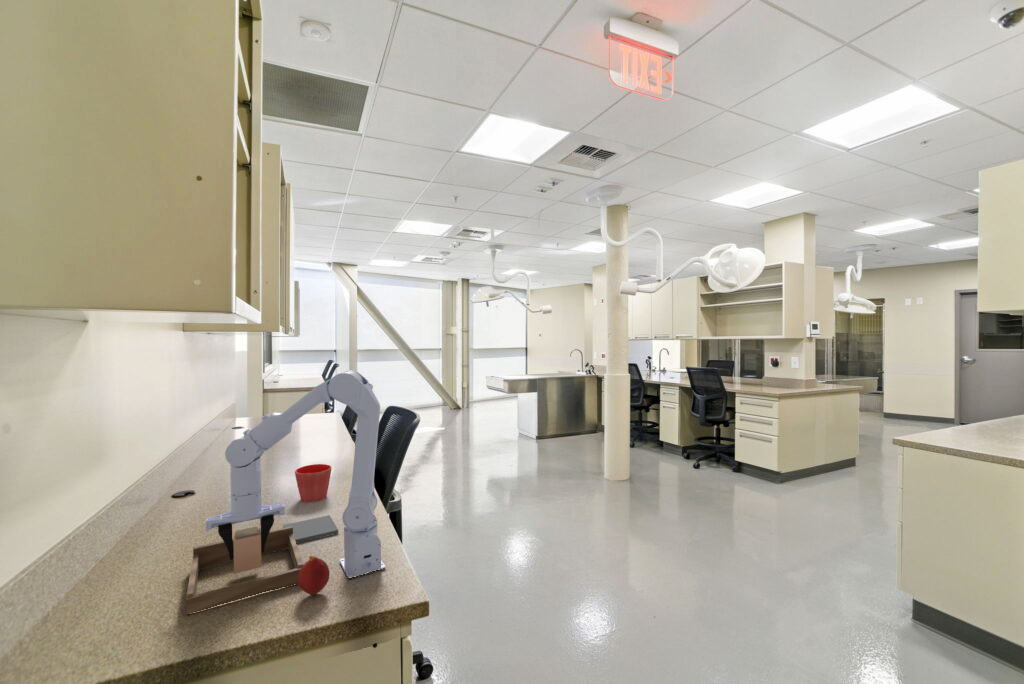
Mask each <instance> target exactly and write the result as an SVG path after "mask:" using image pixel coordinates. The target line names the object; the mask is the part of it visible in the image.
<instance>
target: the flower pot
mask: <svg viewBox="0 0 1024 684" xmlns="http://www.w3.org/2000/svg"><path fill="white" fill-rule="evenodd" d="M331 474H332V465H330V464H326V463H317V464H316V463H315V464H314V463H313V464H308V465H307V464H306V465H304V466H300V467H299V468H296V469H295V471H294V475H295V480H296V485H297V489H298V490H297V491H298V494H299V497H300V500H301V502H304V501H305V503H313V502H312V501H314V502H317V501H321V499H322V500H324V499H326V498H327V496H328V491H329V485H330V480H331ZM323 498H324V499H323Z"/></svg>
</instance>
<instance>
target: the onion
mask: <svg viewBox="0 0 1024 684" xmlns="http://www.w3.org/2000/svg"><path fill="white" fill-rule="evenodd" d="M308 558H309V560H307V561H306V562H304V563H303V566H302V568H301V570H300V571H299V574H298V584H297V586H298V587H299V589H300V590H301V591H302V592H304V593H306V594H309V595H310V596H311V595H314V594H316V595H317V594H318V593H320V592H321V591H322V590H323V589H324V588H325V587H326V585H327V584H328V582H329V579H330V567H329V565H328V564H327V562H326V561H325V560H323V559H322V558H319V557H317V556H315V555H313V554H312V555H310V556H308ZM314 596H315V595H314Z"/></svg>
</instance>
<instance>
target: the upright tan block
mask: <svg viewBox="0 0 1024 684" xmlns="http://www.w3.org/2000/svg"><path fill="white" fill-rule="evenodd" d="M232 539H233V546H234V562H233V574H235V575H236V574H239V573H243V572H247V571H251V570H255V569H258V568H262V555H261V526H252V527H248V528H243V529H238V530H235V531H232Z"/></svg>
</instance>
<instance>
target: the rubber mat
mask: <svg viewBox="0 0 1024 684" xmlns="http://www.w3.org/2000/svg"><path fill="white" fill-rule="evenodd" d="M290 526H293V535H294V538H295V541H296V543H297V544H299V543H298V542H301V543H303V542H302V541H305V542H308V541H307V540H309V541H312V540H311V539H313V540H316V539H315V538H318V539H321V538H320V537H322V538H325V537H324V536H326V537H328V536H327V535H330V536H333V535H332V534H334V535H337V534H336V533H338V534H339V528H338V527H337V525H336V524H335V522H334V521H333V518H332V517H331V515H330V514H328V515H323V516H318V517H315V518H314V517H313V518H310V519H305V520H301V521H295V522H291V523H287V524H282V528H286V527H290Z"/></svg>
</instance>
